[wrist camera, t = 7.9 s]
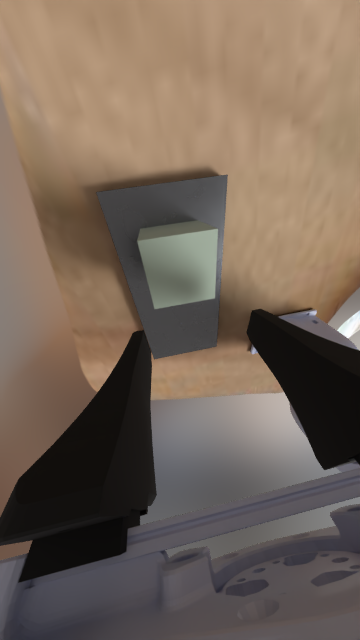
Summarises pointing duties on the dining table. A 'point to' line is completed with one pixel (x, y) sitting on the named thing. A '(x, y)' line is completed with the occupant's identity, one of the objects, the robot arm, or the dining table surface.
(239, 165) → the dining table surface
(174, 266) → the sage green cube
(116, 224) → the base plate
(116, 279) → the dining table surface
